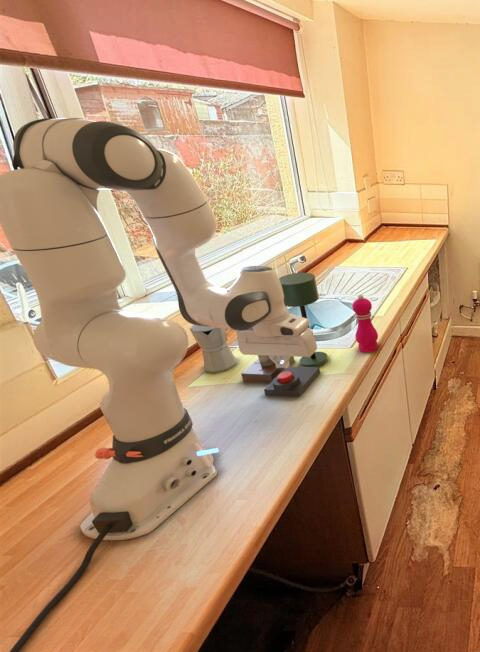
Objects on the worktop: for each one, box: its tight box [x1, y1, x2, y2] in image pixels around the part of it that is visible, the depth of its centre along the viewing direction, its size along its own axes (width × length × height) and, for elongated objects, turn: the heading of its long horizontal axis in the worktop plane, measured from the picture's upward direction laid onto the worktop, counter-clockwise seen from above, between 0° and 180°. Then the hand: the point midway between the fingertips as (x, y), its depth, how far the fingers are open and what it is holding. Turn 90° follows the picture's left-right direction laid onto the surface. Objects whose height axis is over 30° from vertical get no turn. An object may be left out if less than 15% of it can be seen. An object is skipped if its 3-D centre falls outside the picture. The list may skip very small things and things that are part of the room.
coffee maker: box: [189, 324, 237, 374], centre depth 124 cm, size 15×9×18 cm, turn 34°
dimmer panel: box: [240, 356, 295, 384], centre depth 123 cm, size 12×9×3 cm
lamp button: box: [278, 371, 293, 383], centre depth 113 cm, size 4×4×2 cm
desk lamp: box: [279, 272, 329, 368], centre depth 123 cm, size 10×10×29 cm
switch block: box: [263, 365, 321, 398], centre depth 117 cm, size 12×10×4 cm
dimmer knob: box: [257, 355, 274, 366], centre depth 122 cm, size 4×4×4 cm
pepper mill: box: [351, 294, 379, 354], centre depth 134 cm, size 7×7×20 cm
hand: (283, 367), depth 112 cm, fingers closed
